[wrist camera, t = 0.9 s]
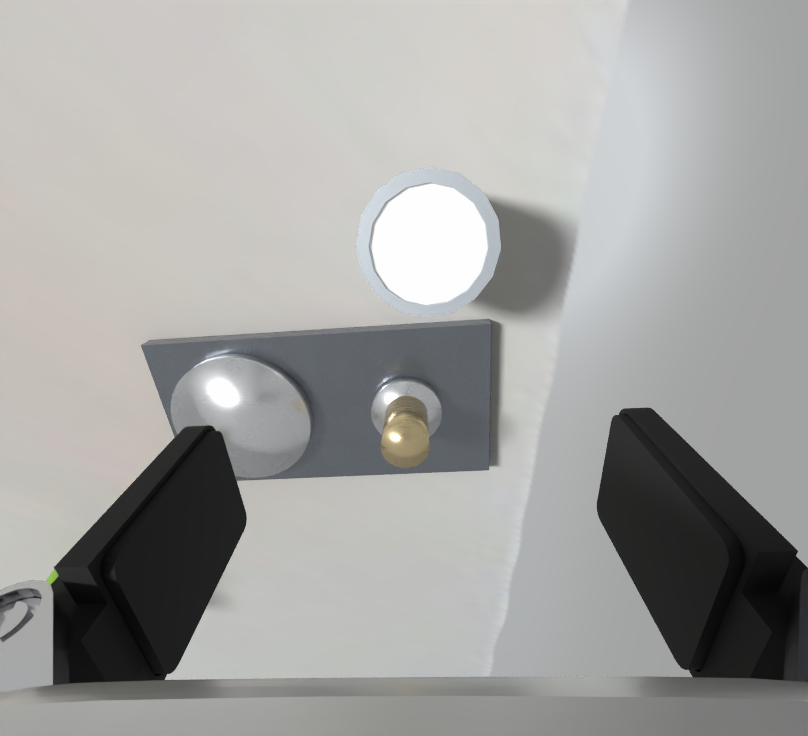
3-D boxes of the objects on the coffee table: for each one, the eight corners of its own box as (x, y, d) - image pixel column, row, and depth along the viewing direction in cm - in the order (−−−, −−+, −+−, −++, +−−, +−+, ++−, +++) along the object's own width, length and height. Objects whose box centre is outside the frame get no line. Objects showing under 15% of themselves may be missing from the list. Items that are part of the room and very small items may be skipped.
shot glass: (494, 262, 26) (519, 288, 20) (395, 300, 27) (389, 337, 21) (459, 150, 24) (475, 139, 17) (352, 198, 25) (330, 204, 18)
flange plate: (149, 340, 29) (88, 376, 24) (488, 319, 28) (506, 352, 22) (197, 474, 34) (155, 530, 29) (486, 462, 33) (501, 518, 27)
